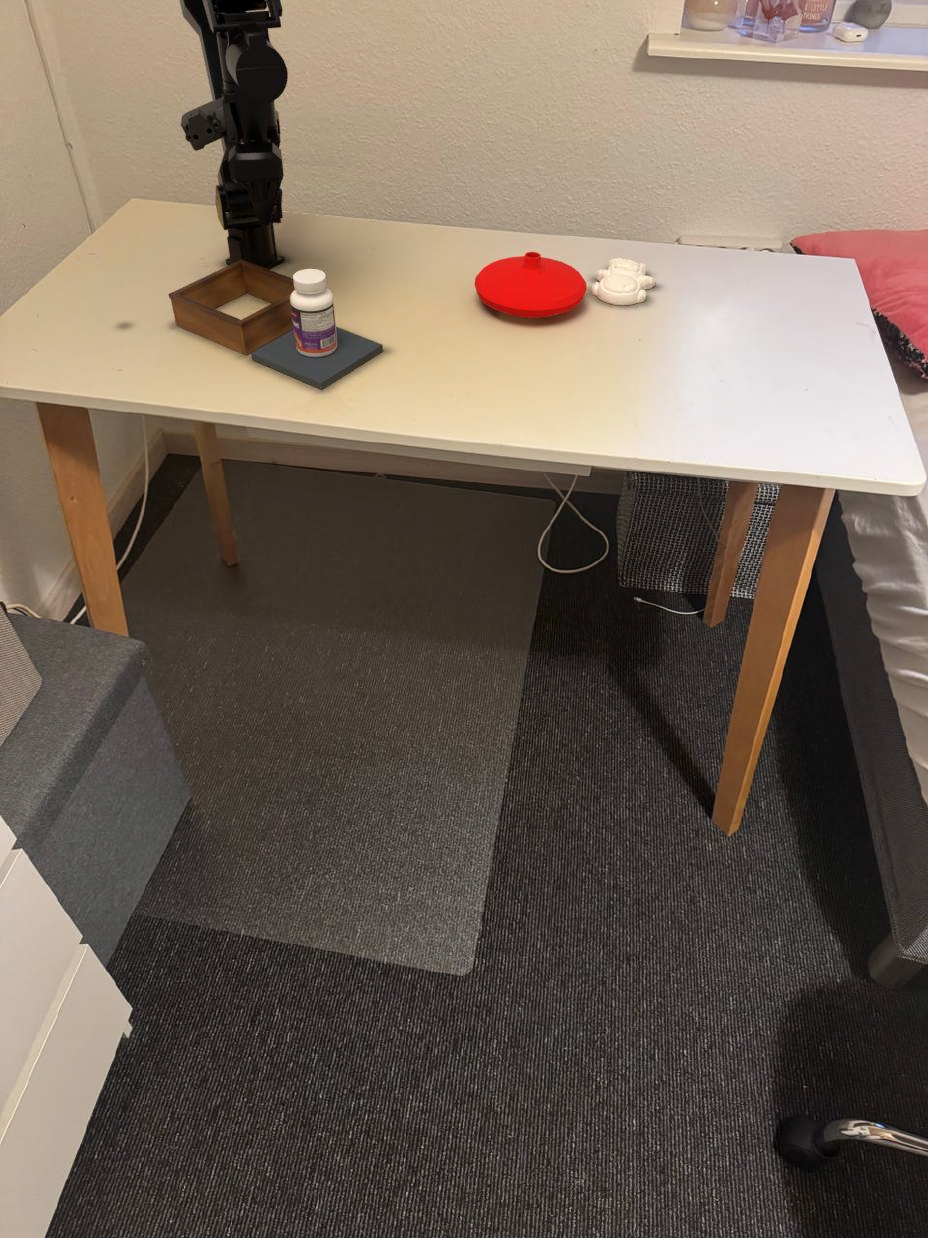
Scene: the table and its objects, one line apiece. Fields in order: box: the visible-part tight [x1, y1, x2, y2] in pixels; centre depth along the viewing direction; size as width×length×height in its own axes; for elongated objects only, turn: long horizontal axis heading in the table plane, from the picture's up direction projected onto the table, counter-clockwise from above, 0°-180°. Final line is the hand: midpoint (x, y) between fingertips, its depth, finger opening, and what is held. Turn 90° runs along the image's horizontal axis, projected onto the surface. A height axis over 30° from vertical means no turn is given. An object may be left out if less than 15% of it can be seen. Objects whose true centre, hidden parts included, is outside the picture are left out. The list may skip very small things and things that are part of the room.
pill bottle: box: [290, 268, 337, 357], centre depth 118 cm, size 5×5×10 cm
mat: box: [250, 326, 384, 391], centre depth 122 cm, size 12×12×1 cm
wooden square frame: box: [168, 260, 295, 356], centre depth 127 cm, size 13×13×4 cm
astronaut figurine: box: [591, 257, 657, 306], centre depth 137 cm, size 9×12×3 cm
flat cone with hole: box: [474, 251, 588, 319], centre depth 131 cm, size 16×16×7 cm
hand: (264, 210), depth 123 cm, fingers open, 9 cm apart
